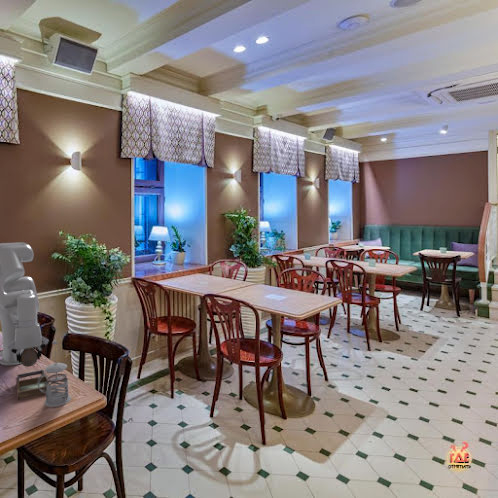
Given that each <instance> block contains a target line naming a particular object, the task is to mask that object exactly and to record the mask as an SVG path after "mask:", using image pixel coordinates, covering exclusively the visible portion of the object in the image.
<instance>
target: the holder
mask: <svg viewBox="0 0 498 498" xmlns="http://www.w3.org/2000/svg"><path fill="white" fill-rule="evenodd" d="M46 375H47V378H48V377H49V375H48V374H46ZM40 376H41V375H40ZM40 376H37V377H32V378H27V379H23V380H21V379H20V380H19V381H18V380H17V381H16V386H17V387H16V389H17V390H16V393H17V401H20V400H24V399H28V398H33V397H37V396H42V395H46V393H43V392H45V391H46V382H47V378H46V377H45V376H44V377H43V375H42V376H41V377H40ZM39 377H40V379H41V378H42V377H43V378H42V379H41V380H40V379H39ZM38 379H39V381H40V383H39V381H38ZM37 382H38V384H39V387H40V389H41V390H44V391H43V392H41V391H40V390H39V388H38V384H37ZM50 383H51V382H50ZM50 383H49V384H50ZM49 384H48V385H49Z"/></svg>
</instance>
